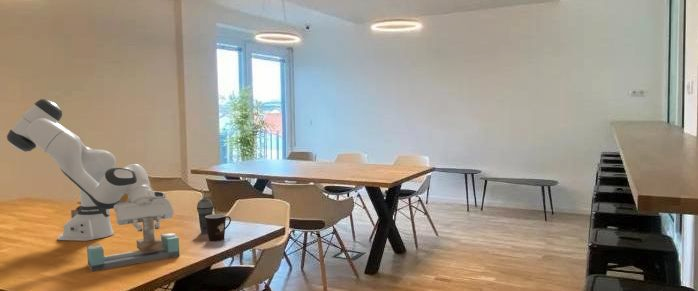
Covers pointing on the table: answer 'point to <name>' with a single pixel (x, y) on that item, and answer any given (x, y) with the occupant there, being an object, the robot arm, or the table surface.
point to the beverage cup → (204, 212)
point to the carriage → (148, 237)
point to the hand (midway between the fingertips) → (149, 229)
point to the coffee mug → (216, 226)
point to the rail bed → (132, 254)
